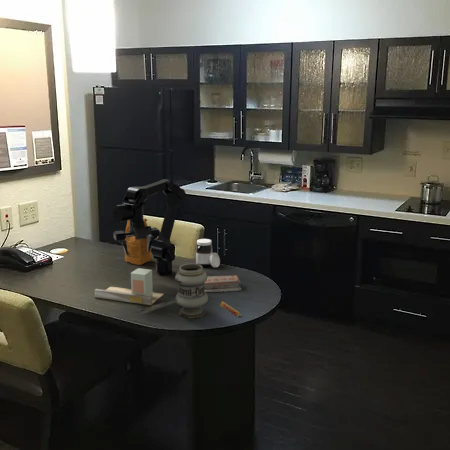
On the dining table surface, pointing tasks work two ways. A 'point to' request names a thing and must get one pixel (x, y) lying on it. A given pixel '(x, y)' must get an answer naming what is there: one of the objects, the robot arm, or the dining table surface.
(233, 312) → the chocolate bar
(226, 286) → the packaged product
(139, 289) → the carton
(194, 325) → the dining table surface
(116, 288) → the shelf
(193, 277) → the apothecary jar
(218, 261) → the spread jar
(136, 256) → the coffee package
